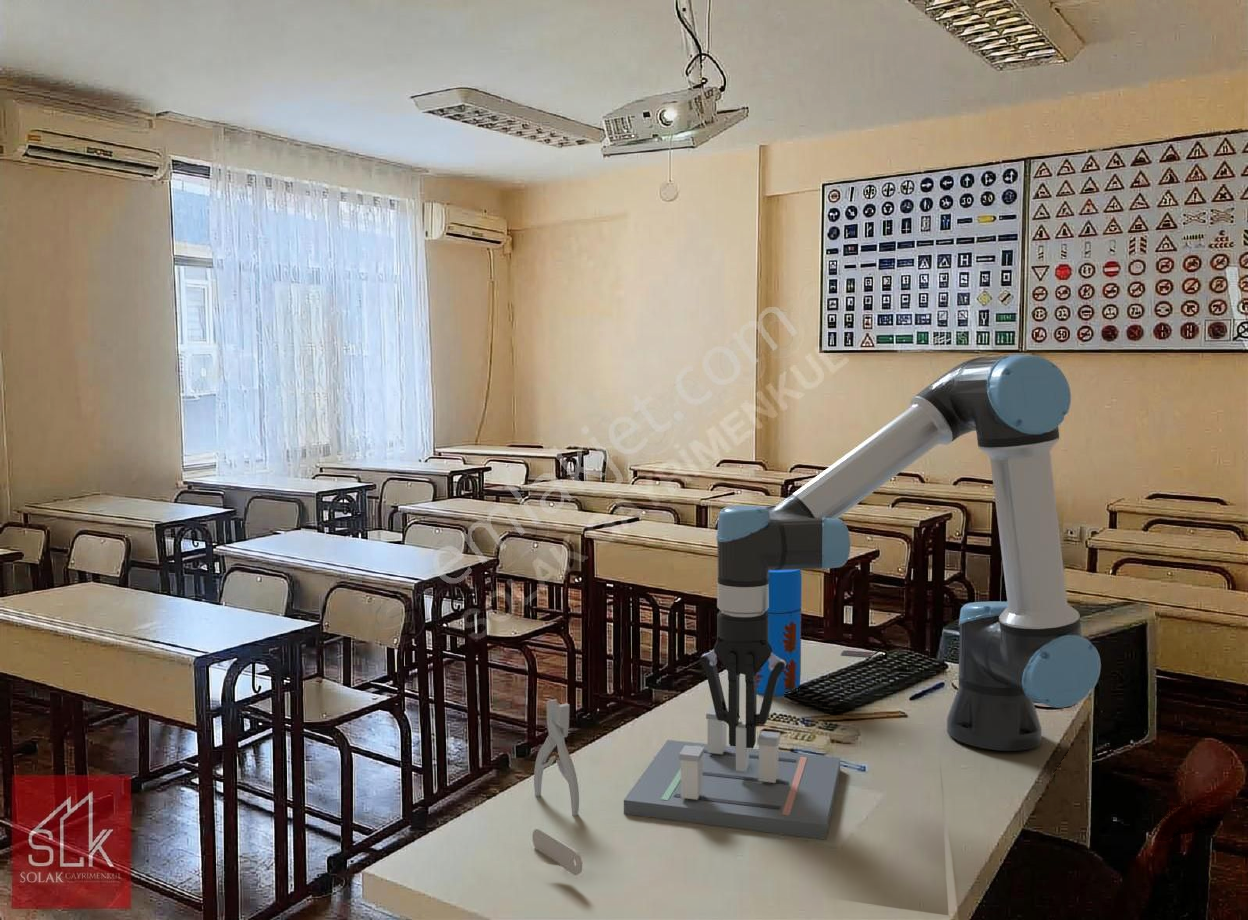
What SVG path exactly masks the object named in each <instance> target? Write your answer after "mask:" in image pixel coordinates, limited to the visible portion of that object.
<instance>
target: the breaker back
mask: <svg viewBox="0 0 1248 920" xmlns="http://www.w3.org/2000/svg"><path fill="white" fill-rule="evenodd" d="M727 711H728V707H727ZM705 719H706V720H707V744H708V753H715V754H723V752H724V751H725V749H726V746H727V723H726V722H724V721H719V720H718V719H717V717H716V713H715V709H714V706H710V708H709V709H708V710H707V712H706V714H705Z"/></svg>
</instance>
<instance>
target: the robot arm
mask: <svg viewBox="0 0 1248 920" xmlns="http://www.w3.org/2000/svg"><path fill="white" fill-rule="evenodd" d="M1071 395H1072V394H1071V388H1070V385H1069V381H1068V379H1067V377H1066V376H1065V374H1064V373H1063V371H1062V370H1061V369H1060V367H1058V366H1057V365H1056V364H1054V362H1052V361H1050V360H1049V359H1047V358H1045V357H1043V356H1040V355H1035V354H1024V353H1012V354H1005V355H998V356H983V357H982V356H981V357H975V358H971V359H968V360H965V361H963V362H961V363H960V364H958V365H956V366H954V367H952V368H951V369H950V370H949V371H946V373H944V374H943V375H942V376H940V377H938V378H937V379H936V380H934V381H933V382H932V383H930V384H929V385H928V386H927V387H925V388H924V389H922V390H921V391H920V392H918V393H917V394H915V395H913V397H912V398H911V399H910V402H909V407H908V408H907V409H905V410H904V411H903V412H901V413H900V414H899V415H898V416H896V417H895V418H893V419H892V420H891V421H890V422H888V423H886V424H885V425H884V426H883V427H881V428H880V429H879V430H877V431H875V432H874V433H873V434H872V435H870V436H869V437H868V438H866V439H865V440H864V441H862V442H861V443H860V444H859V445H856V447H854V448H853V449H851V450H850V451H849V452H847V453H846V454H845V455H844V456H842V457H840V458H839V459H838V460H837V461H835V462H834V463H832V464H831V465H830V466H829V467H827V468H825V470H823V471H821V472H820V473H819V474H818V475H816V476H815V477H814V478H813V479H811V480H810V481H808V482H807V483H806V484H804V485H803V486H801V487H799V488H798V489H797V490H796V491H795V492H793V493H792V494H791V495H788V496H787V497H786V498H784V499H783V500H782V501H780V502H779V503H778V504H777V505H768V506H761V505H744V504H743V505H729V506H725V507H723V508H722V509H721V510H720V511H719V514H718V518H717V519H718V520H717V533H716V540H717V541H716V542H717V543H716V544H717V584H716V585H717V586H716V587H717V588H716V591H717V593H716V597H717V599H716V601H717V602H716V607H717V609H719V611H718V613H716V616H717V617H716V618H717V619H716V620H717V623H716V626H717V628H716V629H717V630H716V631H717V632H716V635H717V636H716V642H715V644H714V646H713V649H712V650H710V651H709V652H704V653H703V654H702V655H701V656H700V657H699V664H700V665H701V667H702V669H703V670H704V672H705V674H706V678H707V679H706V680H707V683H708V687H709V692H710V695H711V699H712V705H713V707H714V709H715V713H716V717H717V719H718V720H719V721H724V722H726V725H728V744H729V746H732V747H736V771H744V772H746V770H747V768H748V766H749V748H751V749H754V747H755V745H756V743H757V726H760V725H761V726H762V725H765V724H766V723H767V721H768V719H769V716H770V712H771V708H772V704H773V701H774V697H775V696H774V693H775V690H776V686H777V682H778V678H779V675H780V674H781V672H782V671H783V670H784V668H785V666H786V664H787V661H786V660H785V659H784V658H781V659H780V658H779V657H777V656H776V655H774V654H773V653H772V648H771V646H770V644H769V615H768V614H767V613H766V612H765V611H766V610H767V609H768V608H769V571H770V570H794V569H801V570H821V571H822V570H823V571H824V570H826V569H835V568H837V569H838V568H841V567H843V566H844V565H845V564H846V563H847V562H848V559H849V556H850V553H851V536H850V531H849V529H848V527H847V525H846V523H845V521H843V520H842V519H840V517H841V516H843V515H844V514H845V513H847V512H848V511H850V510H851V509H853V507H855V506H856V505H858V504H859V503H860V502H862V501H863V500H864V499H865V498H867V497H868V496H870V495H871V494H872V493H874V492H875V491H877V490H878V489H879V488H881V487H882V486H884V485H885V484H887V482H889V481H890V480H891V479H893V478H894V477H896V476H897V475H898V474H899V473H901V472H902V471H904V470H906V468H908V467H909V466H911V465H912V464H913V463H915V462H916V461H917V460H919V459H921V458H922V457H923V456H924V455H925V454H927V453H928V452H930V451H931V450H932V449H934V448H935V447H936V446H938V445H945V446H948V445H950V444H951V443H953V442H954V441H955V440H957V439H958V438H959V437H962V436H964V435H967V434H969V433H971V432H974V431H976V439H977V440H976V441H977V447H978V449H979V450H981V451H982V452H983V453H985V454H986V455H987V456H988V457H989V459H990V468H991V477H992V484H993V493H994V502H995V509H996V518H997V527H998V533H999V534H998V535H999V545H1000V551H1001V552H1000V553H1001V560H1002V568H1003V576H1004V584H1005V585H1004V586H1005V591H1006V592H1005V593H1006V599H1007V600H1006V601H1000V600H999V601H995V600H993V601H974V602H968V603H965V604H964V605H962V607H961V608H960V612H959V613H960V614H959V619H958V627H959V631H958V632H959V634H958V637H959V638H958V688H957V690H956V694H955V696H954V698H953V701H952V704H951V707H950V709H949V712H948V715H947V719H946V731H947V732H946V733H947V734H948V735H949V736H950V737H951V738H953V739H954V740H956V741H958V742H960V743H962V744H966V745H968V746H973V747H977V748H980V749H988V750H992V751H993V750H994V751H1006V752H1008V751H1011V752H1012V751H1013V752H1014V751H1024V750H1025V751H1026V750H1031V749H1035V748H1036V747H1038V746H1039V745H1040V744H1041V743H1042V734H1043V733H1042V725H1041V722H1040V718H1039V716H1038V713H1037V709H1036V706H1035V703H1039V704H1043V705H1045V706H1047V707H1051V708H1056V709H1057V708H1058V709H1060V708H1067V707H1071V706H1074V705H1076V704H1078V703H1080V702H1081V701H1083V700H1084V699H1086V698H1087V697H1088V695H1089V693H1090V692H1091V690H1093V689H1094V688H1095V687H1096V685H1097V684H1098V680H1099V678H1100V674H1101V668H1102V664H1101V657H1100V653H1099V652H1098V650H1097V648H1096V646H1094V644H1093V643H1092V642H1091V641H1090V640H1089V639H1087V637H1083V633H1082V626H1081V615H1080V613H1079V611H1078V610H1076V609H1075V608H1074V607H1073V606H1072V605H1070V604H1069V603H1068V598H1067V597H1068V596H1067V588H1066V580H1065V579H1066V578H1065V571H1064V570H1065V569H1064V563H1063V554H1062V553H1063V552H1062V546H1061V544H1062V543H1061V536H1060V526H1059V517H1058V509H1057V502H1056V491H1055V484H1054V477H1053V476H1054V474H1053V465H1052V457H1051V450H1052V449H1053V448H1054V446H1055V445H1056V444H1058V442H1059V441H1060V431H1059V430H1060V429H1059V425H1061V424H1062V423H1063V421H1065V416H1066V414H1068V413H1069V410H1070V407H1071V402H1072V401H1071V400H1072V396H1071ZM718 660H719V661H720V662H721V664H722V665H723V666H722V667H724V669H725V670H726V671H727V680H728V691H727V692H728V695H727V697H728V700H727V701H728V707H727V703H726V700H725V696H724V691H723V687H722V683H721V682H722V681H721V679H720V673H719V670H718V667H717V663H718ZM767 660H768V661H769V670H770V671H772V672H771V673H770V676H769V679H768V683H767V686H766V690H765V694H764V695H763V698H762V702H761V706H760V710H759V713H757V709H758V708H757V706H758V705H757V702H758V701H757V700H758V699H757V696H758V694H757V672H758V671H759V670H760V669H761V668H762V666H763V665H764V664H765V663H766V661H767ZM741 675H744V681H745V721H739V720H740V718H741V715H740V681H741V680H740V677H741ZM1034 702H1035V703H1034ZM727 708H728V711H727Z"/></svg>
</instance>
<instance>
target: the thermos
mask: <svg viewBox="0 0 1248 920" xmlns="http://www.w3.org/2000/svg"><path fill="white" fill-rule="evenodd" d="M765 612H766V613H767V614H768V615H769V644H770V646H771V648H772V653H773V654H774V655H776V656H777V657H779V658H780V659H781V658H784V659H785V660H786V661H787V664H786V666H785V668H784V670H783V671H782V672H781V674H780V675H779V678H778V682H777V686H776V690H775V693H774V697H781V696H785V695H784V694H785V693H786V692H788V691H791V690H793V689H795V688H798V687H799V686H800V687H801V675H802V674H801V673H802V672H801V671H802V670H801V669H802V668H801V667H802V665H801V664H802V662H801V661H802V644H801V643H802V569H794V570H770V571H769V608H768V609H767V610H766V611H765ZM771 672H772V671H770V670H769V661H768V660H767V661H766V663H765V664H764V665H763V666H762V668H761V669H760V670H759V671H758V672H757V695H761V696H762V695H763V696H764V694H765V690H766V686H767V683H768V679H769V676H770V673H771Z"/></svg>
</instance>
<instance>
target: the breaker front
mask: <svg viewBox="0 0 1248 920" xmlns="http://www.w3.org/2000/svg"><path fill="white" fill-rule="evenodd" d="M703 754H704V747H697V746H688V745H685V746H684V748H683V749H682V751H681V752H680V754H679V760H681V798H688V799H696V800H698V798H699V796H700V794H701V792H702V764H703Z"/></svg>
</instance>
